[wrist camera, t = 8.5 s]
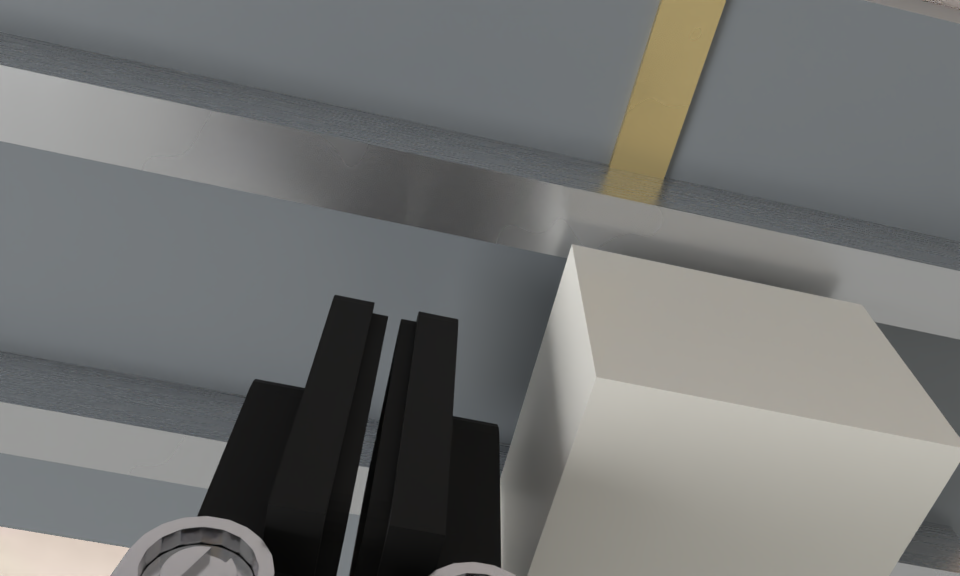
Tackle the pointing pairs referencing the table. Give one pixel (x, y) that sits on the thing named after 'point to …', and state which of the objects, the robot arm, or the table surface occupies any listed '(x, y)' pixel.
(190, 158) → the fader console
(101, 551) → the table surface
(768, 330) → the fader knob
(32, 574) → the table surface
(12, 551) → the table surface
